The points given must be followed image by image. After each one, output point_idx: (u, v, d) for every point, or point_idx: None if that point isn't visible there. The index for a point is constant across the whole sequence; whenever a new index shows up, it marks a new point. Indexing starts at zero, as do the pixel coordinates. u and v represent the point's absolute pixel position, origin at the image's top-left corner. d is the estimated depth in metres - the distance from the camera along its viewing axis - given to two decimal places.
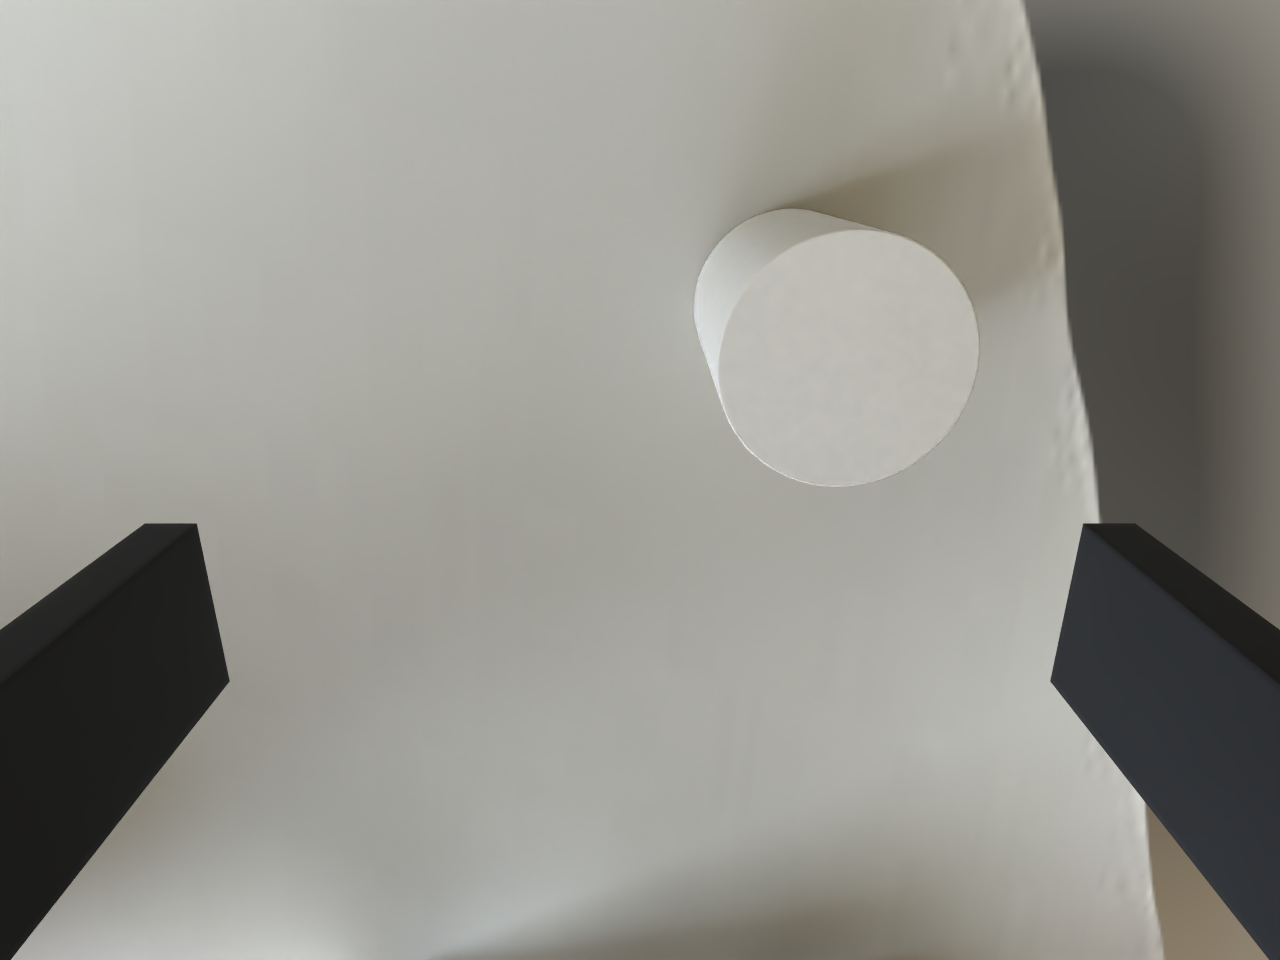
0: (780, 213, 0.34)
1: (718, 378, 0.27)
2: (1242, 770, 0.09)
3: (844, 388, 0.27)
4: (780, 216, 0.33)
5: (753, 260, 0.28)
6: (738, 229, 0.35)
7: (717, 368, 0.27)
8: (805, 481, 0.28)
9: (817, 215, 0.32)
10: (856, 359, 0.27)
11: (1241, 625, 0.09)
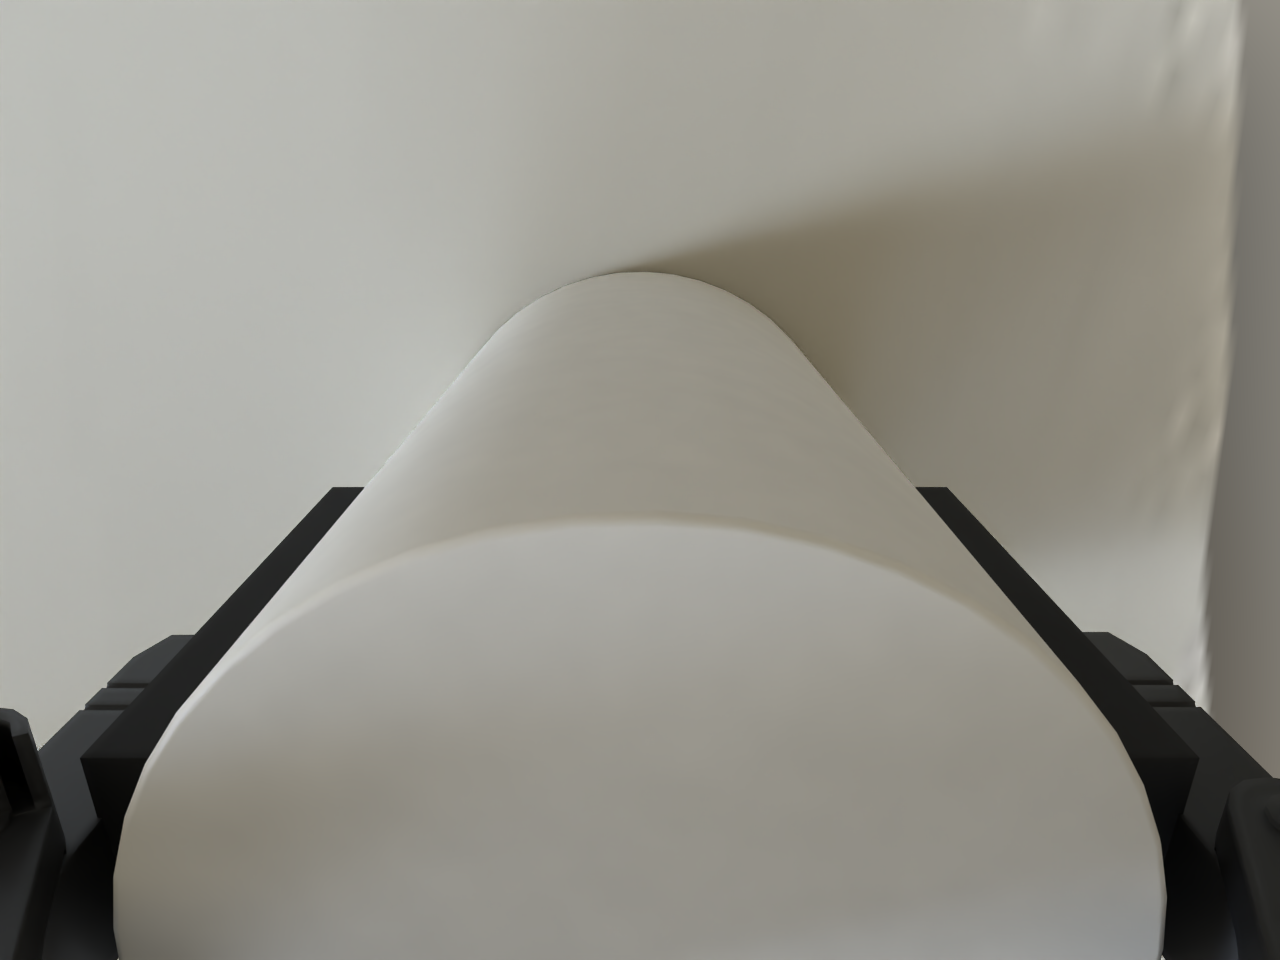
0: (615, 289, 0.14)
1: None
2: None
3: None
4: (601, 302, 0.13)
5: (355, 510, 0.07)
6: (528, 310, 0.15)
7: None
8: None
9: (676, 322, 0.12)
10: None
11: (993, 567, 0.11)
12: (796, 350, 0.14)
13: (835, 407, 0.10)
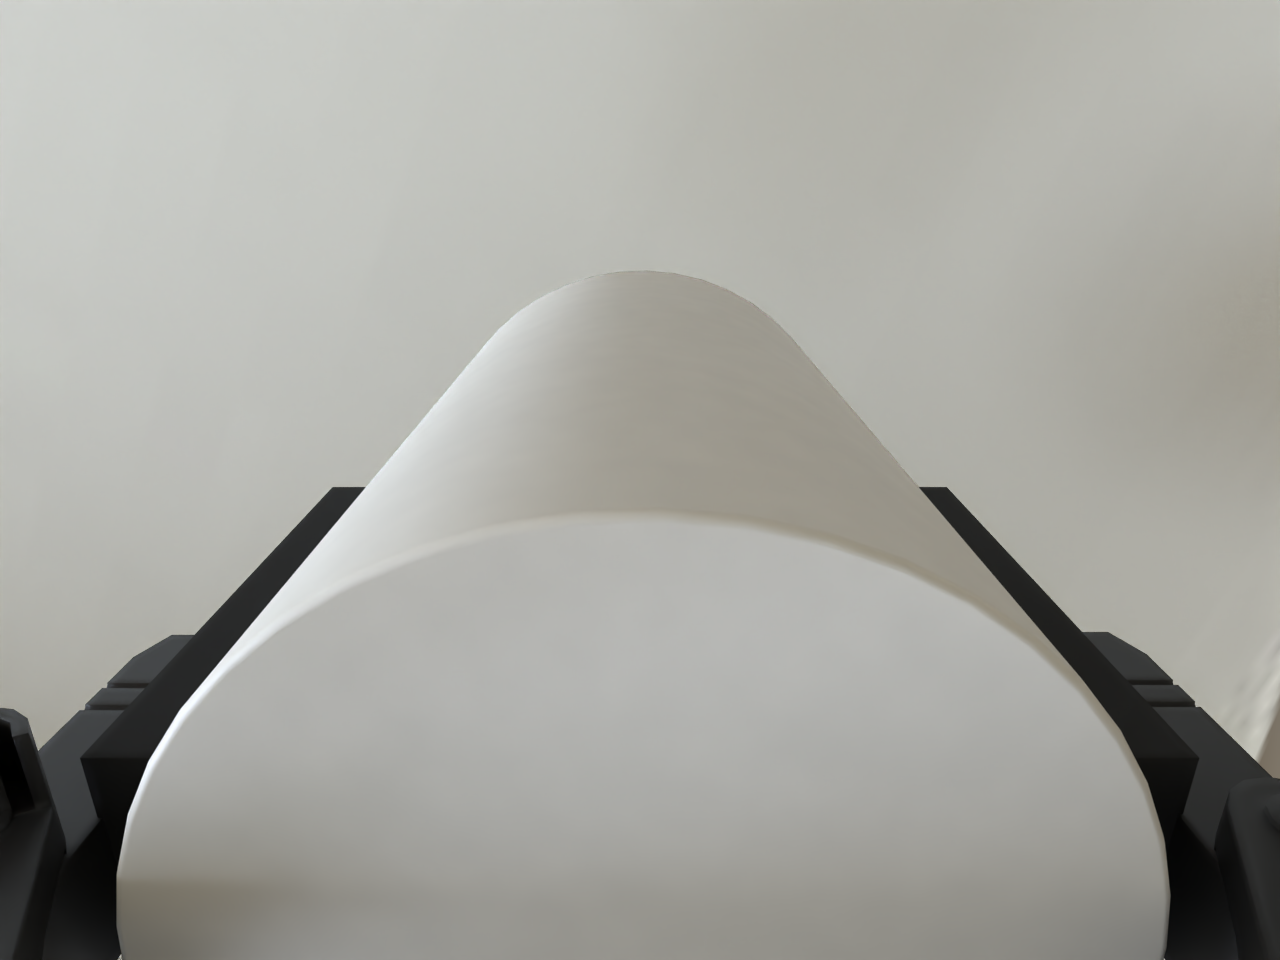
0: (617, 288, 0.14)
1: None
2: None
3: None
4: (603, 301, 0.13)
5: (358, 508, 0.07)
6: (530, 309, 0.15)
7: None
8: None
9: (678, 321, 0.12)
10: None
11: (993, 567, 0.11)
12: (798, 349, 0.14)
13: (837, 406, 0.10)
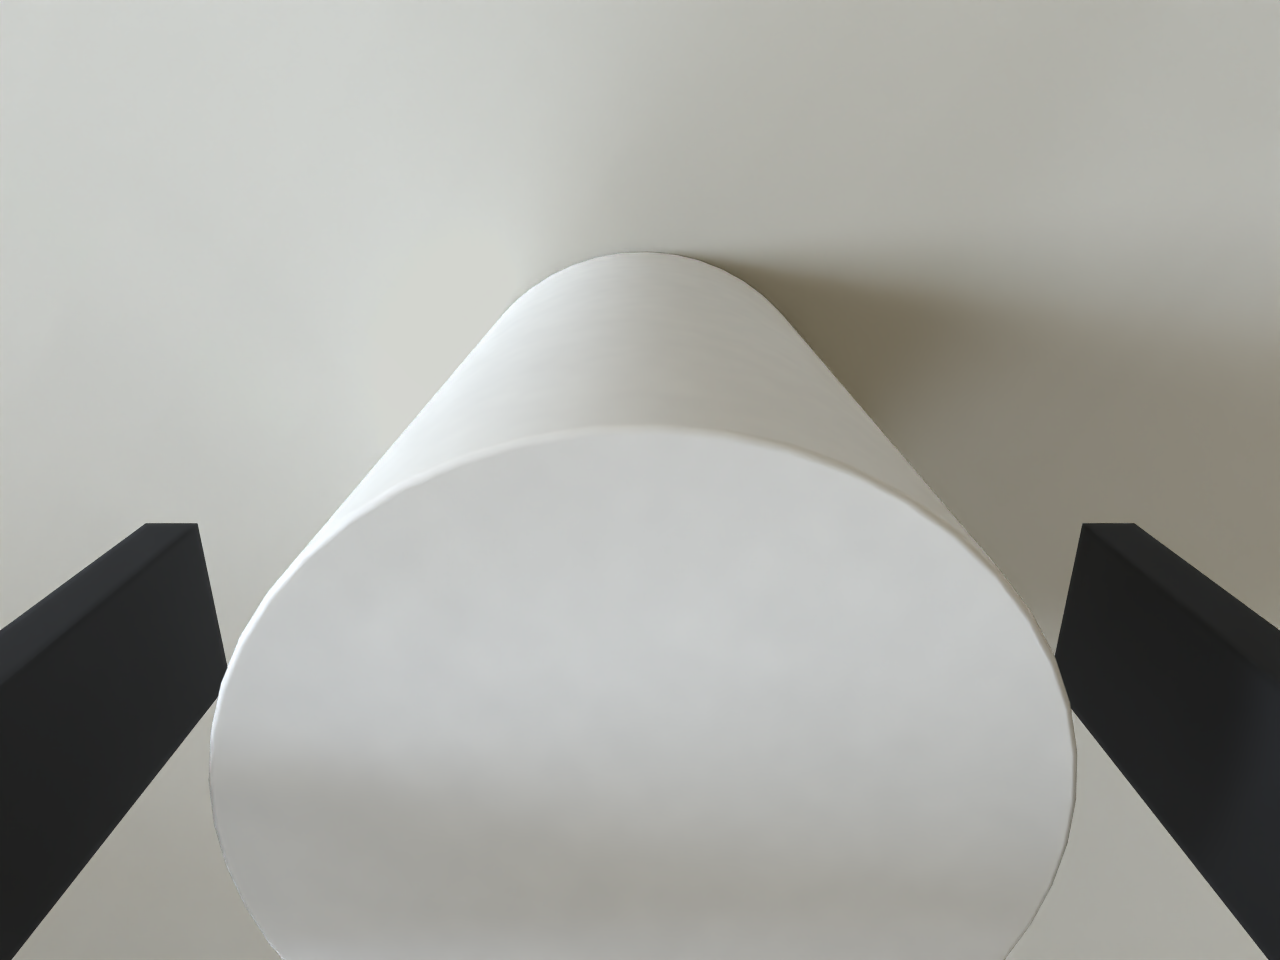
0: (620, 266, 0.16)
1: (218, 831, 0.08)
2: (1240, 770, 0.09)
3: (630, 892, 0.08)
4: (607, 277, 0.15)
5: (401, 442, 0.09)
6: (539, 286, 0.17)
7: None
8: None
9: (675, 292, 0.13)
10: (669, 824, 0.08)
11: (1240, 625, 0.09)
12: (785, 322, 0.16)
13: (815, 366, 0.12)
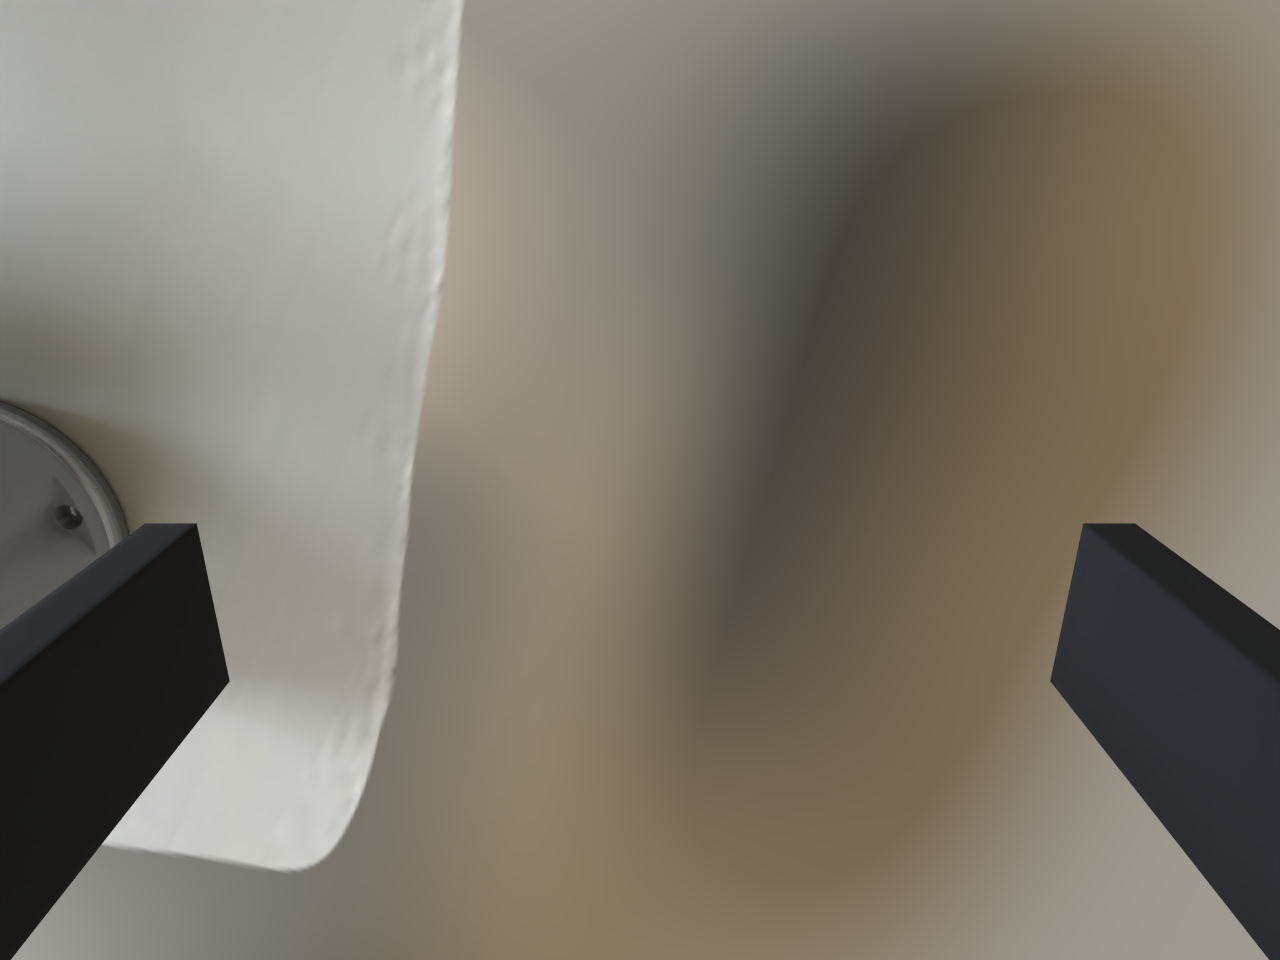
0: None
1: None
2: (1242, 770, 0.09)
3: None
4: None
5: None
6: None
7: None
8: None
9: None
10: None
11: (1241, 625, 0.09)
12: None
13: None
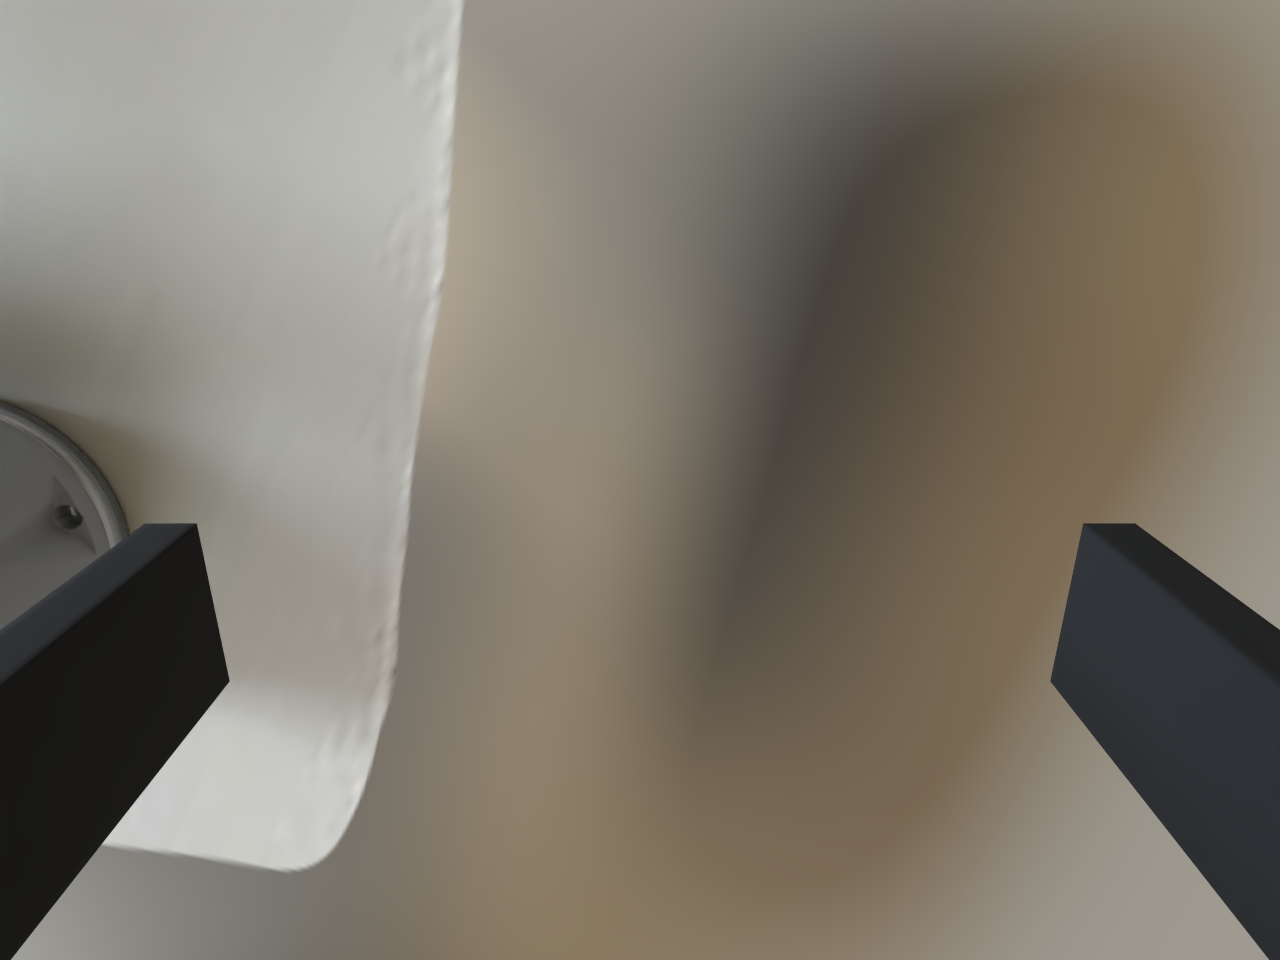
0: None
1: None
2: (1242, 770, 0.09)
3: None
4: None
5: None
6: None
7: None
8: None
9: None
10: None
11: (1241, 625, 0.09)
12: None
13: None
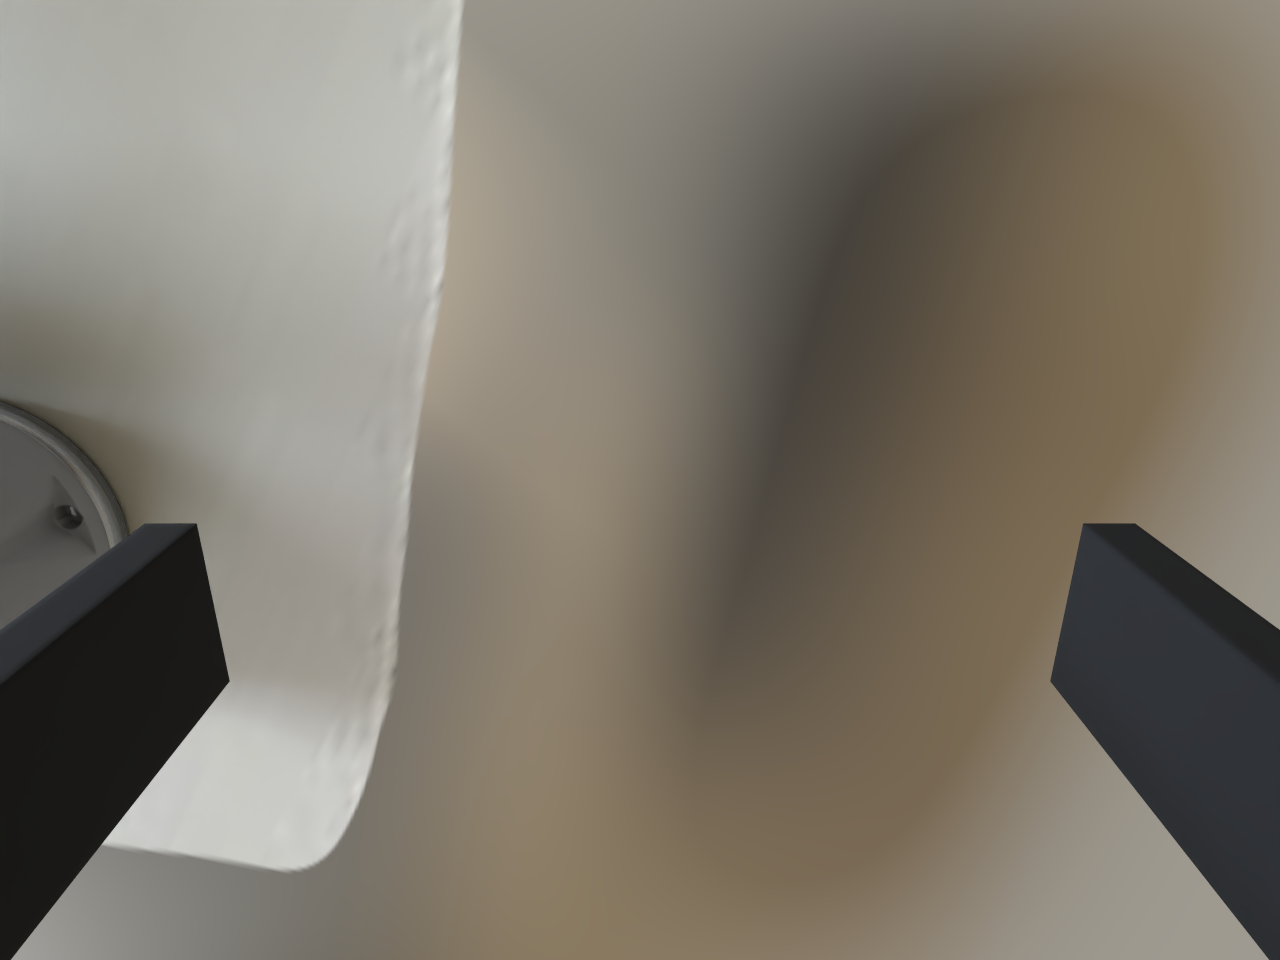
0: None
1: None
2: (1242, 770, 0.09)
3: None
4: None
5: None
6: None
7: None
8: None
9: None
10: None
11: (1241, 625, 0.09)
12: None
13: None
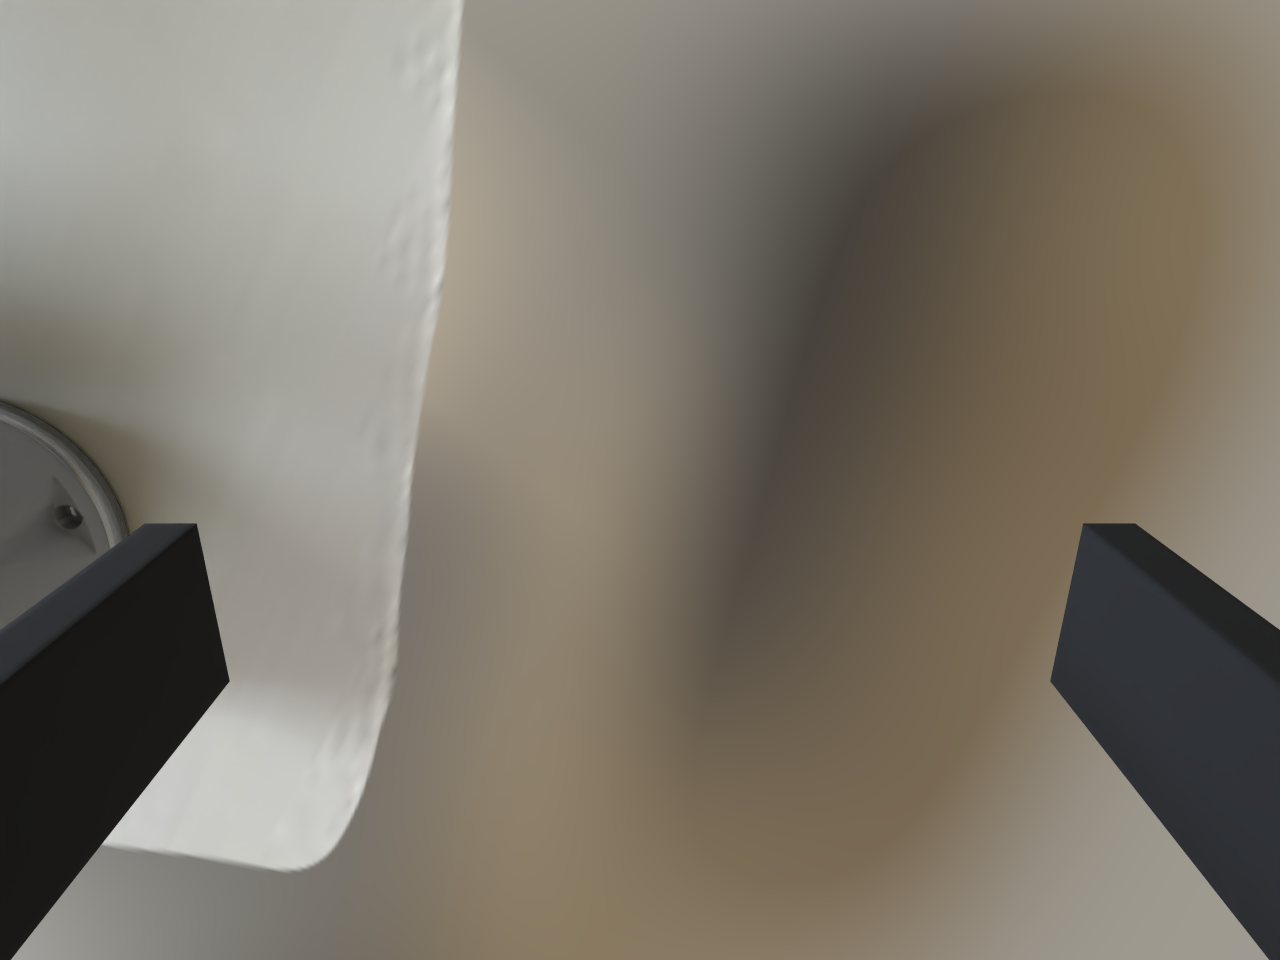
0: None
1: None
2: (1242, 770, 0.09)
3: None
4: None
5: None
6: None
7: None
8: None
9: None
10: None
11: (1241, 625, 0.09)
12: None
13: None
